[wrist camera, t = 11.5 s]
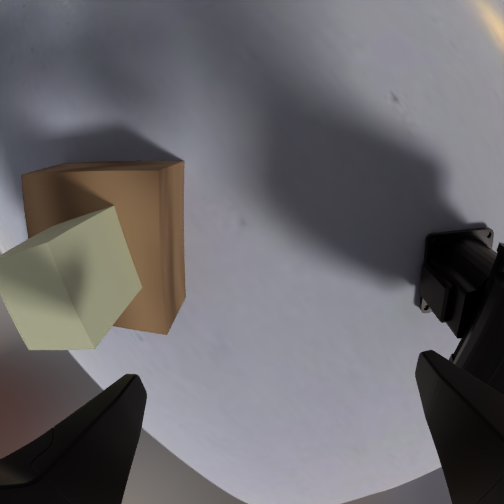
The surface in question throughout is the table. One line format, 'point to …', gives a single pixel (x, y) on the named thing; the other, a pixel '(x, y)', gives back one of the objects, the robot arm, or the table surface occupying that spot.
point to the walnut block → (124, 224)
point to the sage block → (69, 282)
